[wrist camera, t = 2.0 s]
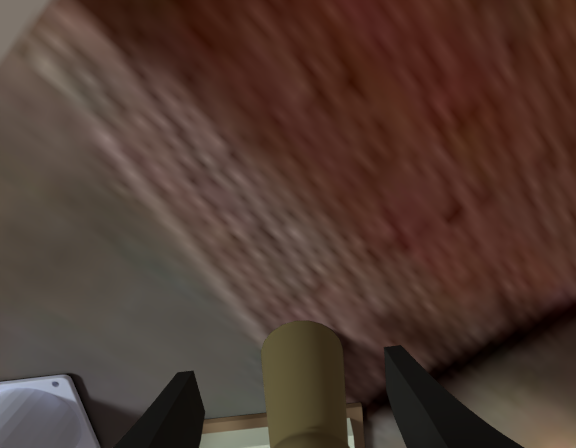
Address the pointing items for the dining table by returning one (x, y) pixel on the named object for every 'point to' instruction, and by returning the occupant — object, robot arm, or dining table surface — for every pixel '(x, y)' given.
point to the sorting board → (261, 421)
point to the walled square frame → (249, 438)
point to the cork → (304, 387)
